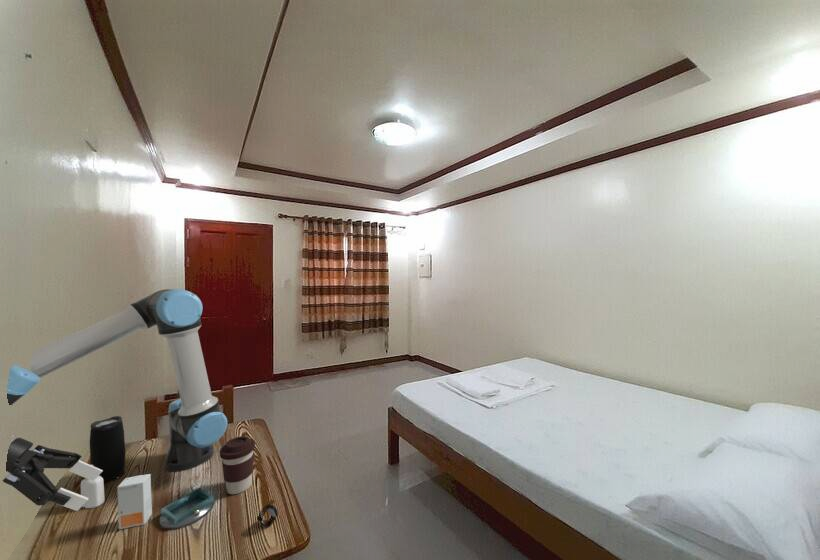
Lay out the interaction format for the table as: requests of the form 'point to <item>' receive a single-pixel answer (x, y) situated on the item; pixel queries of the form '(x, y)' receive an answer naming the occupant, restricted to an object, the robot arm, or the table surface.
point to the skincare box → (134, 501)
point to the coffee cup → (238, 464)
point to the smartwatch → (272, 512)
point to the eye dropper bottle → (93, 492)
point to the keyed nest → (187, 510)
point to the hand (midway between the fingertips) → (91, 489)
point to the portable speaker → (108, 447)
